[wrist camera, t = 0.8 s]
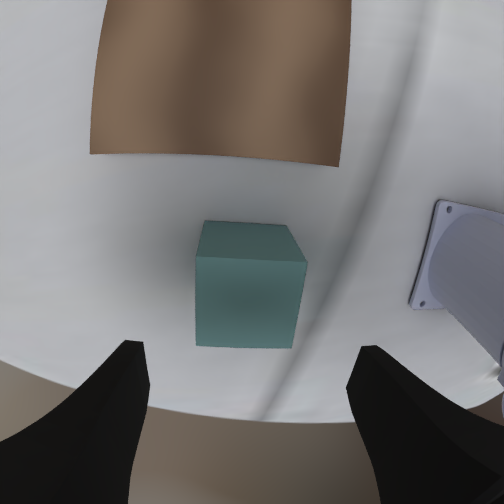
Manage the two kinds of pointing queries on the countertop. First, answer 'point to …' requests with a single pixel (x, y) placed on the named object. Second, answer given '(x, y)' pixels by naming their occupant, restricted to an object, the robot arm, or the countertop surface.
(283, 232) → the teal block
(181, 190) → the countertop surface
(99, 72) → the walnut plinth
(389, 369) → the robot arm
